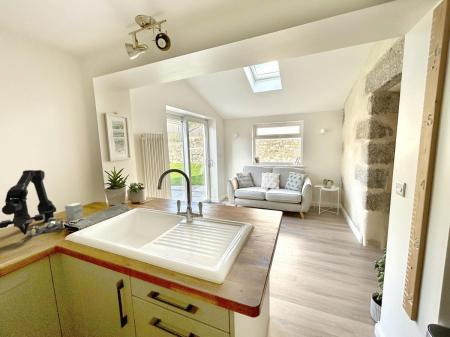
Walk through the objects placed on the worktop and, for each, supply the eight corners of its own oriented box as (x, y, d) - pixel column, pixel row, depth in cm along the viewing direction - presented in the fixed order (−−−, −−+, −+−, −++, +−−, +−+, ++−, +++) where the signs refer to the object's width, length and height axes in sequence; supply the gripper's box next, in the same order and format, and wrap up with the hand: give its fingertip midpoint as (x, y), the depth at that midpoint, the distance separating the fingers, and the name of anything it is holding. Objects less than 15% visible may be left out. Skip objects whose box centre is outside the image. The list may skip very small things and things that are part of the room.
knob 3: (61, 225, 133) (60, 220, 132) (68, 223, 135) (68, 218, 135) (60, 228, 126) (59, 224, 126) (68, 227, 129) (67, 222, 128)
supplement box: (75, 223, 140) (72, 206, 138) (66, 222, 141) (64, 205, 140) (84, 219, 147) (82, 202, 145) (76, 218, 148) (73, 202, 147)
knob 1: (31, 231, 124) (30, 226, 124) (39, 229, 126) (38, 225, 126) (28, 236, 118) (27, 231, 117) (37, 234, 120) (36, 229, 120)
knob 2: (48, 224, 135) (47, 219, 135) (49, 222, 139) (48, 218, 138) (63, 221, 140) (62, 216, 140) (63, 219, 143) (62, 215, 143)
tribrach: (32, 228, 134) (31, 221, 134) (72, 219, 147) (71, 213, 146) (26, 238, 119) (25, 230, 118) (71, 227, 132) (70, 221, 131)
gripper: (-8, 217, 104) (-3, 244, 106) (39, 208, 115) (44, 234, 117) (-2, 211, 113) (4, 237, 115) (42, 204, 124) (46, 228, 126)
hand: (25, 234), depth 118 cm, fingers closed
